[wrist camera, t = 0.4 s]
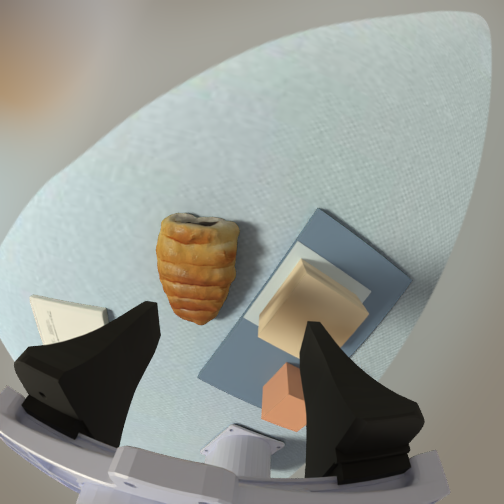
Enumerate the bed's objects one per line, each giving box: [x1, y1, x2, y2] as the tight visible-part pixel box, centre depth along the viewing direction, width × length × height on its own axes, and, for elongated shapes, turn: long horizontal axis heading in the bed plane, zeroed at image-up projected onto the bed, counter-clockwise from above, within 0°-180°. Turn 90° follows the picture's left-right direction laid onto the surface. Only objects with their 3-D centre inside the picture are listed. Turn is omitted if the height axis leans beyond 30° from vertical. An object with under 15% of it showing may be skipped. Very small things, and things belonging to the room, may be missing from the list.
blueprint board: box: [197, 208, 412, 409], centre depth 24 cm, size 20×11×1 cm, turn 148°
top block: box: [261, 362, 306, 432], centre depth 23 cm, size 4×4×4 cm
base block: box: [258, 259, 369, 358], centre depth 21 cm, size 6×6×4 cm
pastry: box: [156, 213, 240, 325], centre depth 22 cm, size 9×7×4 cm
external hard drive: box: [30, 294, 109, 345], centre depth 26 cm, size 2×8×12 cm
